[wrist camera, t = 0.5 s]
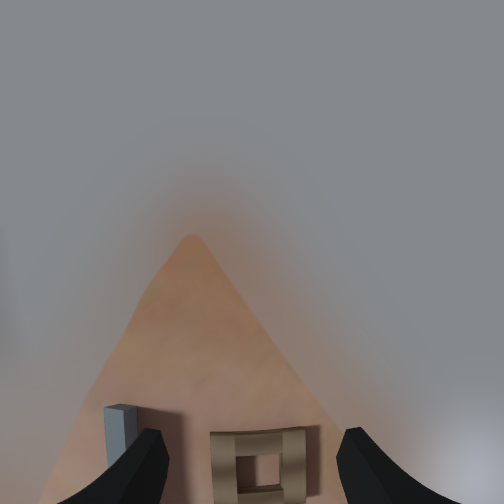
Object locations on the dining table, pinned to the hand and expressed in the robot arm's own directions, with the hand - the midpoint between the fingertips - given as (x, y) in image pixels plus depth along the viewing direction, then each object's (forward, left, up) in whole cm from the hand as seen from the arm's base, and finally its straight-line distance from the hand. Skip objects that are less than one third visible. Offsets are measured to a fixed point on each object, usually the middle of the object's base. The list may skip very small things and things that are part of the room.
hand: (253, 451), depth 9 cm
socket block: (-11, -4, -27) cm, 29 cm away
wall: (-12, +13, -27) cm, 32 cm away
